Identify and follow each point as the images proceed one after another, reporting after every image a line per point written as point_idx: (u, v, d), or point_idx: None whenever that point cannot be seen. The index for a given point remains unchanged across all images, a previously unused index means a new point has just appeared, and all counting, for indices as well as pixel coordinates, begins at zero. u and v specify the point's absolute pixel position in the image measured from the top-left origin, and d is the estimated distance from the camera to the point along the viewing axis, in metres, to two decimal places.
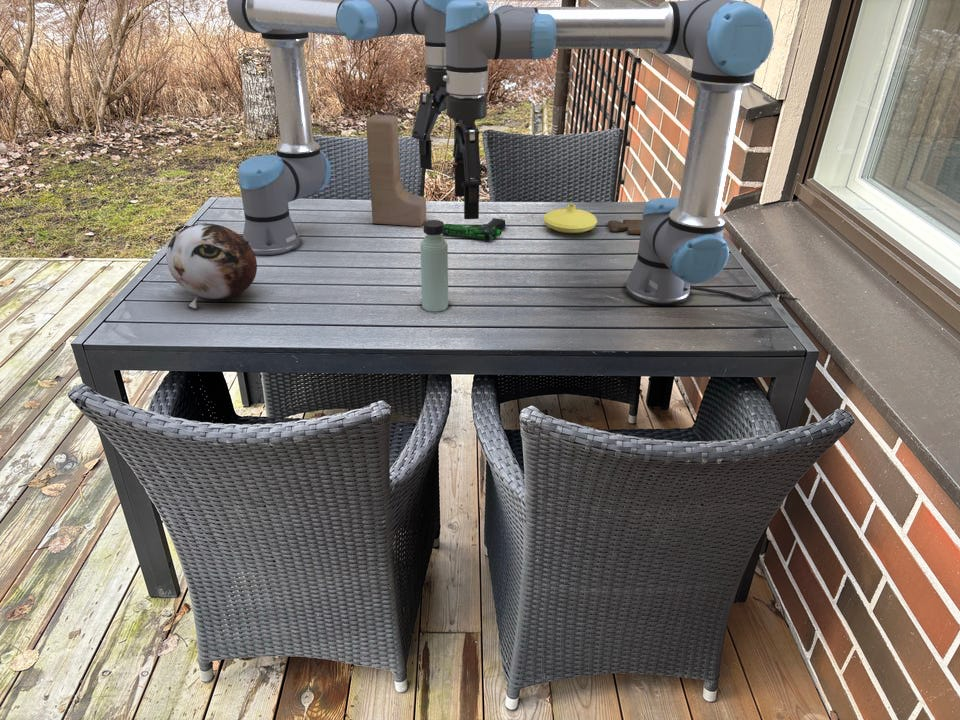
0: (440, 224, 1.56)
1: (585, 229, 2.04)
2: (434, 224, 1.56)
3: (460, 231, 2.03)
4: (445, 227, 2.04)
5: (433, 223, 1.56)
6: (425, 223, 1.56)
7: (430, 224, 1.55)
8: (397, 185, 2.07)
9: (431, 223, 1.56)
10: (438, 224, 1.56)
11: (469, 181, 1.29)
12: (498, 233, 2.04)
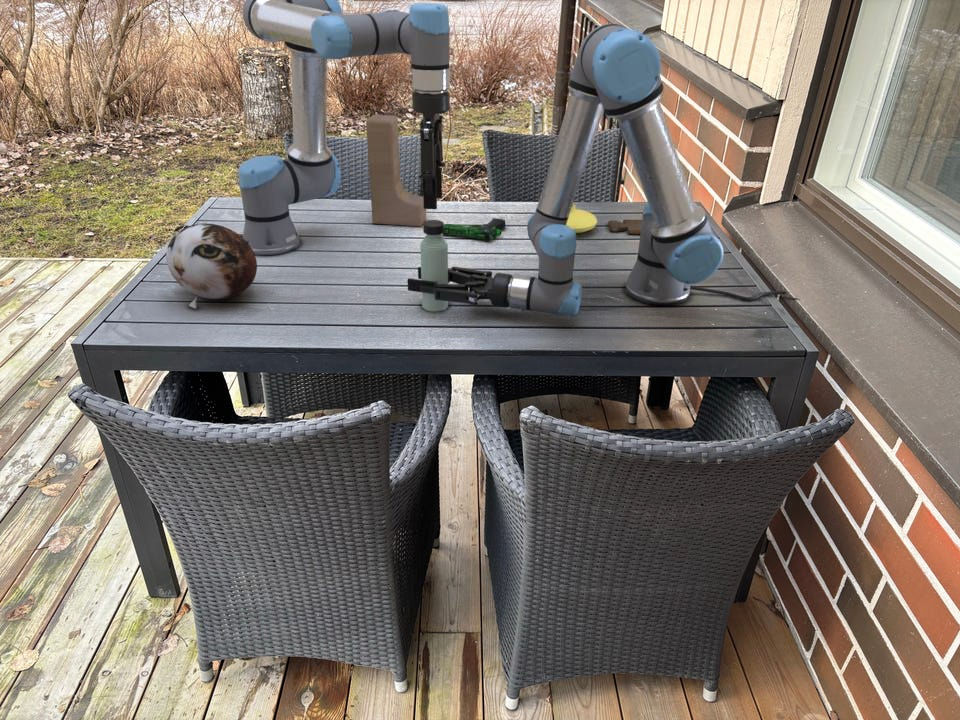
0: (440, 224, 1.56)
1: (585, 229, 2.04)
2: (434, 224, 1.56)
3: (460, 231, 2.03)
4: (445, 227, 2.04)
5: (433, 223, 1.56)
6: (425, 223, 1.56)
7: (430, 224, 1.55)
8: (397, 185, 2.07)
9: (431, 223, 1.56)
10: (438, 224, 1.56)
11: None
12: (498, 233, 2.04)
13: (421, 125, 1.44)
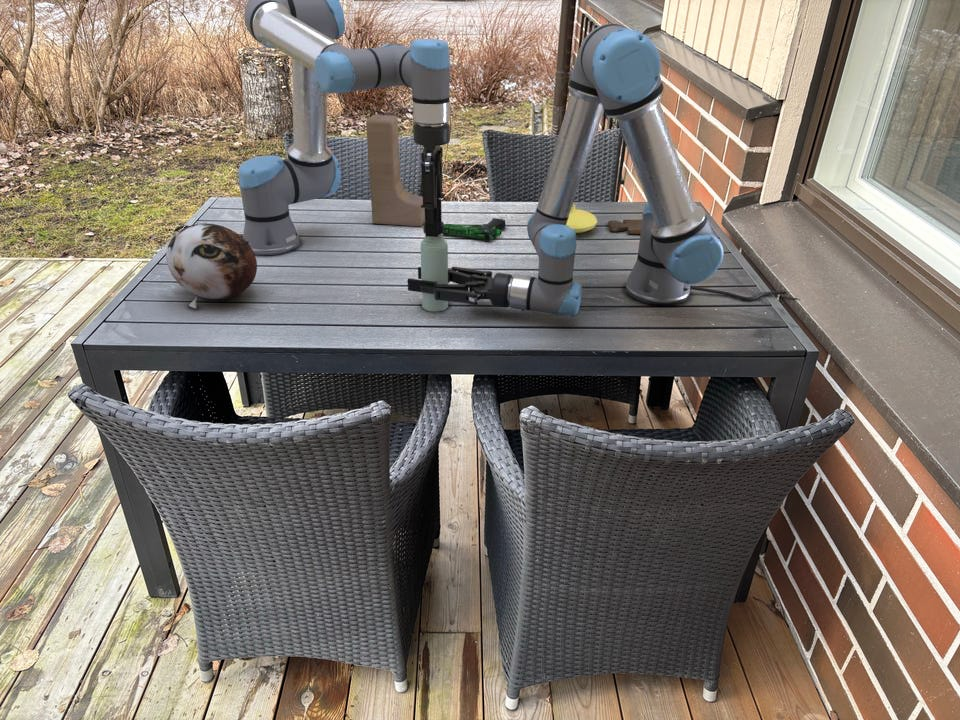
0: (440, 224, 1.56)
1: (585, 229, 2.04)
2: None
3: (460, 231, 2.03)
4: (445, 227, 2.04)
5: None
6: None
7: None
8: (397, 185, 2.07)
9: None
10: (438, 224, 1.56)
11: None
12: (498, 233, 2.04)
13: (422, 156, 1.47)
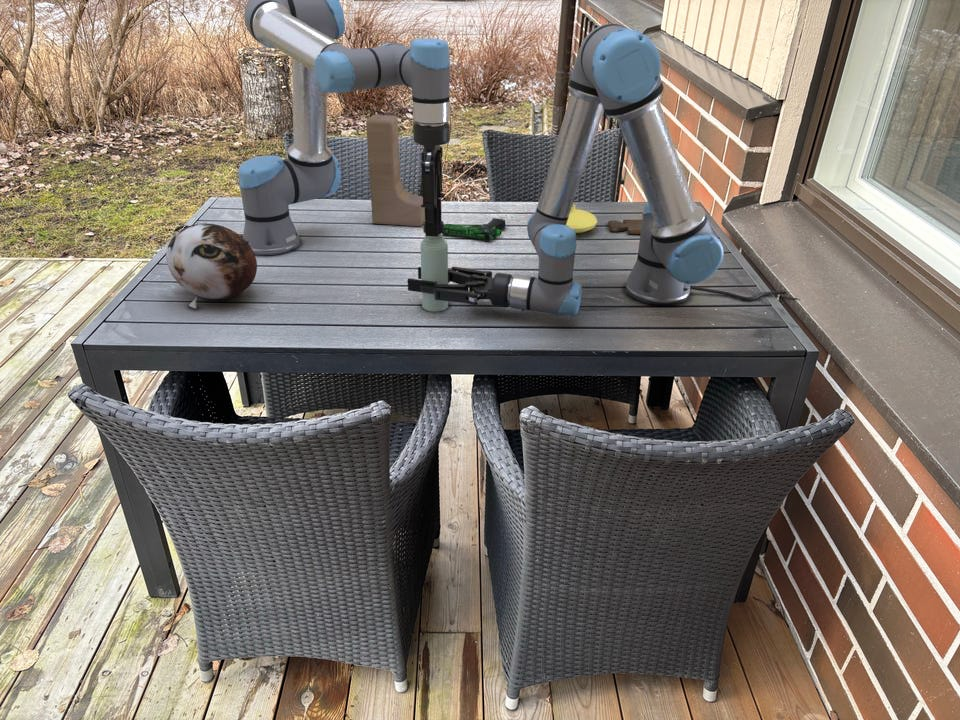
0: None
1: (585, 229, 2.04)
2: None
3: (460, 231, 2.03)
4: (445, 227, 2.04)
5: None
6: None
7: None
8: (397, 185, 2.07)
9: None
10: None
11: None
12: (498, 233, 2.04)
13: (422, 156, 1.47)
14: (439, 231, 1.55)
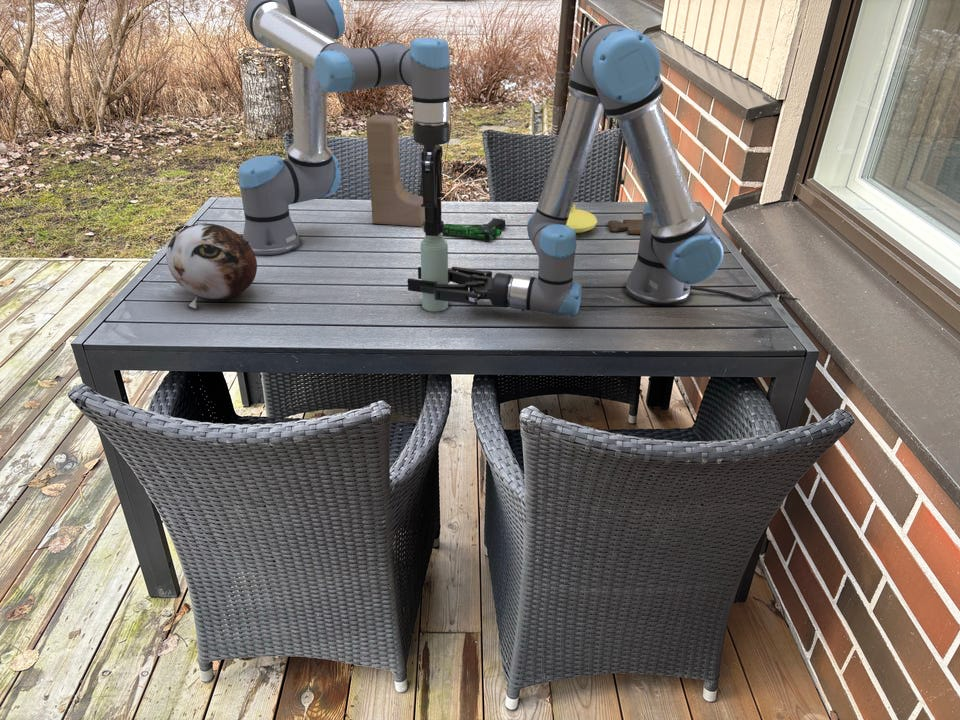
0: None
1: (585, 229, 2.04)
2: None
3: (460, 231, 2.03)
4: (445, 227, 2.04)
5: None
6: (440, 221, 1.57)
7: None
8: (397, 185, 2.07)
9: None
10: None
11: None
12: (498, 233, 2.04)
13: (422, 156, 1.47)
14: None
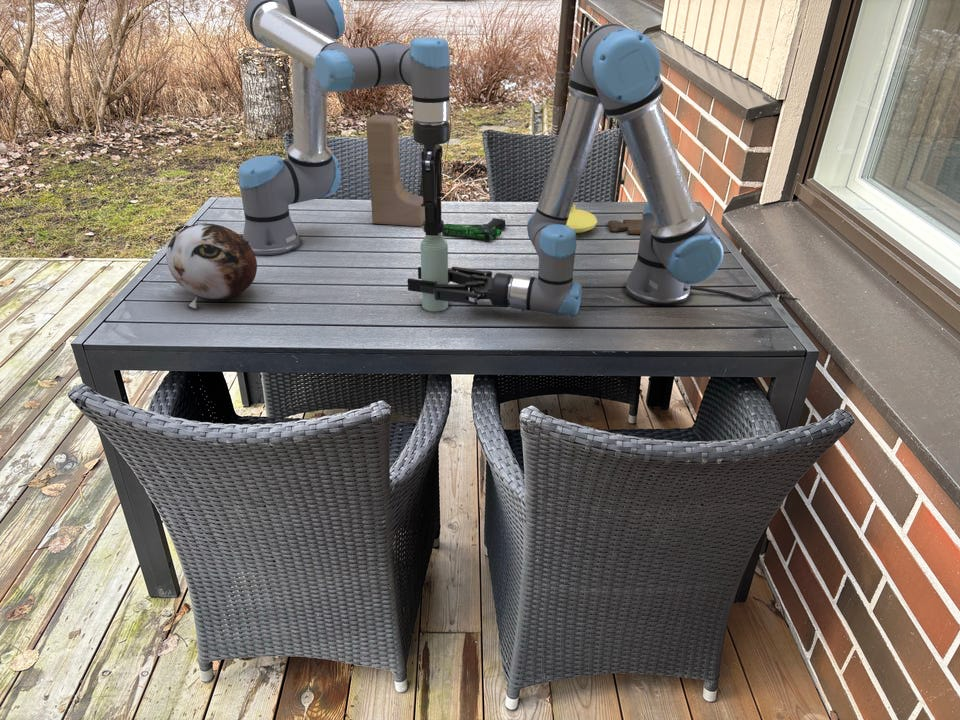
0: None
1: (585, 229, 2.04)
2: None
3: (460, 231, 2.03)
4: (445, 227, 2.04)
5: None
6: None
7: None
8: (397, 185, 2.07)
9: None
10: None
11: None
12: (498, 233, 2.04)
13: (422, 155, 1.47)
14: None
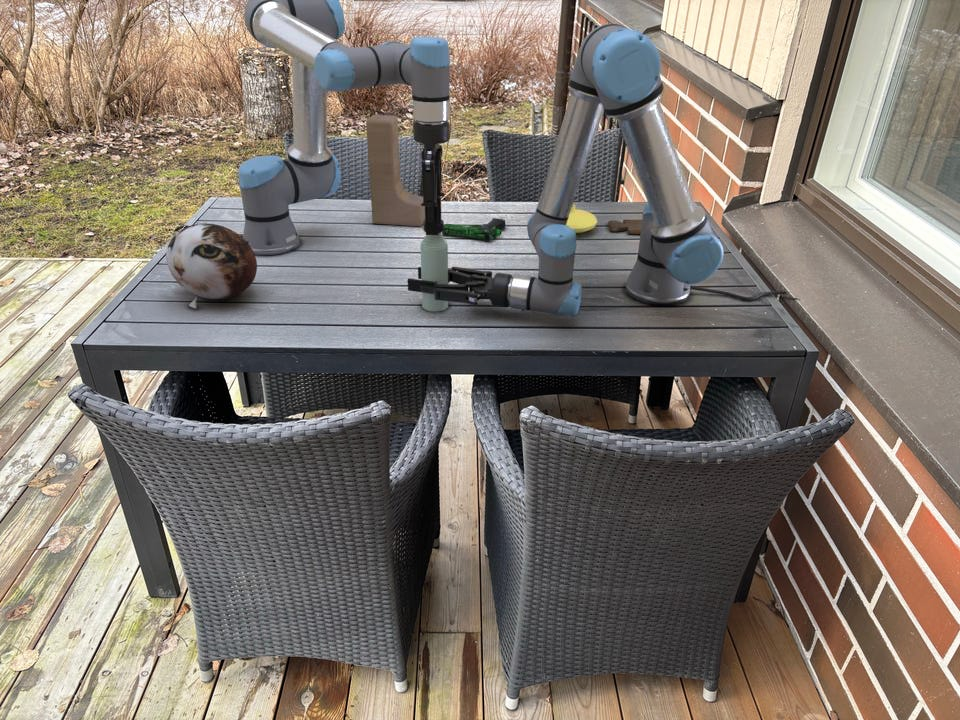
0: (441, 221, 1.56)
1: (585, 229, 2.04)
2: None
3: (460, 231, 2.03)
4: (445, 227, 2.04)
5: None
6: None
7: None
8: (397, 185, 2.07)
9: None
10: (439, 221, 1.56)
11: None
12: (498, 233, 2.04)
13: (422, 155, 1.47)
14: None
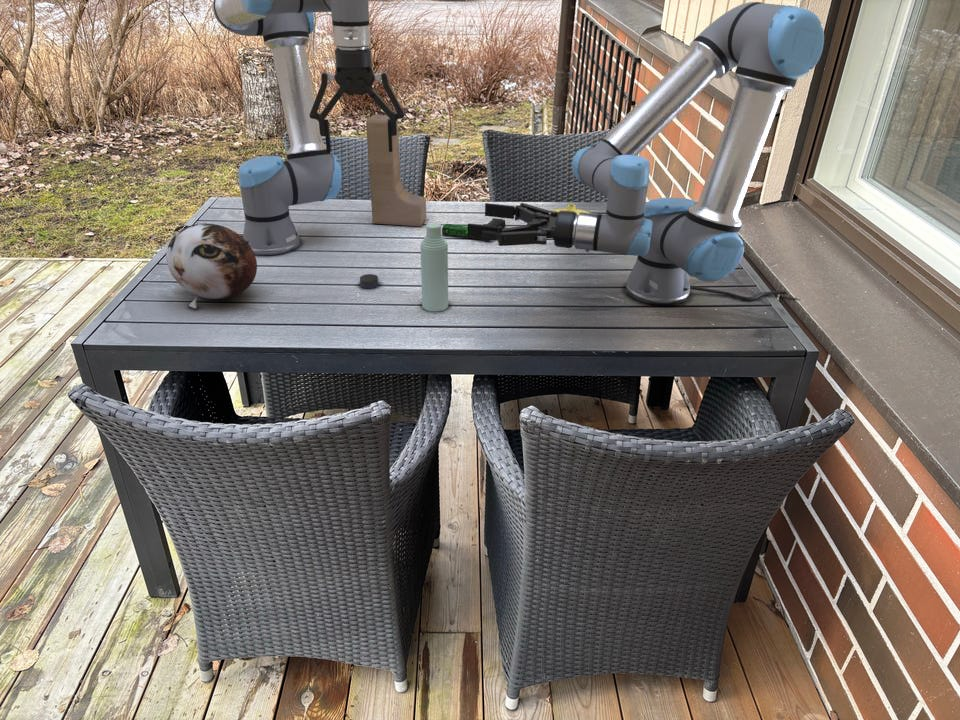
0: (366, 275, 1.76)
1: None
2: (370, 276, 1.75)
3: (460, 231, 2.03)
4: (445, 227, 2.04)
5: (369, 277, 1.75)
6: (374, 279, 1.74)
7: (373, 277, 1.75)
8: (397, 185, 2.07)
9: (370, 278, 1.75)
10: (368, 275, 1.76)
11: None
12: None
13: (363, 80, 1.50)
14: (377, 283, 1.75)
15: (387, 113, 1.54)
